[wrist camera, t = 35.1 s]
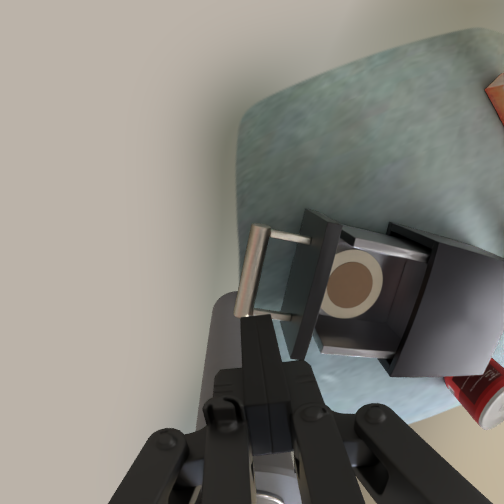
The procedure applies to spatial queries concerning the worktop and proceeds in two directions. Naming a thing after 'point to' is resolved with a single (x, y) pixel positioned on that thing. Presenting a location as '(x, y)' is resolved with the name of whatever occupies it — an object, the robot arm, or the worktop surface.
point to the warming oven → (451, 310)
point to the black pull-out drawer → (315, 282)
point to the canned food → (481, 394)
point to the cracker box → (497, 95)
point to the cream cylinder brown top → (352, 282)
